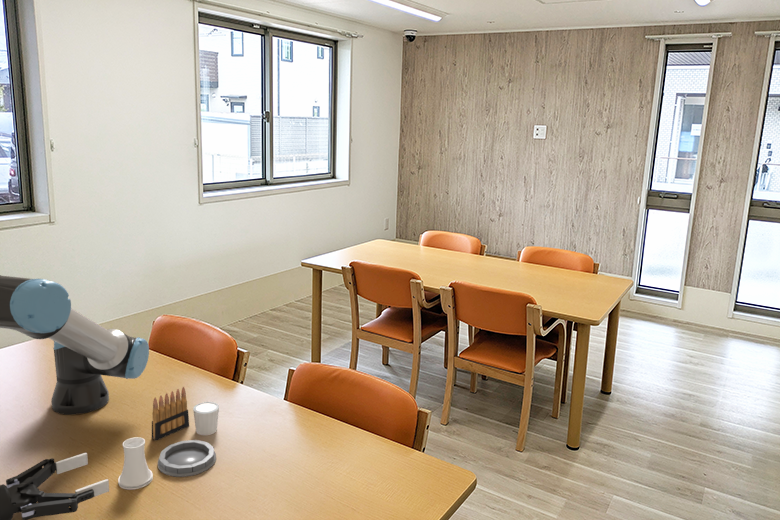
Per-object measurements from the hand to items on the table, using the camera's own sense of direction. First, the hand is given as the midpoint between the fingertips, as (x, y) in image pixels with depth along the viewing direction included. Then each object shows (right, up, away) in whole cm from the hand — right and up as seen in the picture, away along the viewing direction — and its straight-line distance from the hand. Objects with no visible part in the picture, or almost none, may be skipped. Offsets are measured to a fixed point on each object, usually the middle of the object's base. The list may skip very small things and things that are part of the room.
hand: (97, 471), depth 136 cm
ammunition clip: (+6, 0, +29) cm, 30 cm away
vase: (+6, -5, +7) cm, 10 cm away
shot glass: (+15, 0, +31) cm, 35 cm away
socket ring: (+15, -3, +16) cm, 22 cm away
